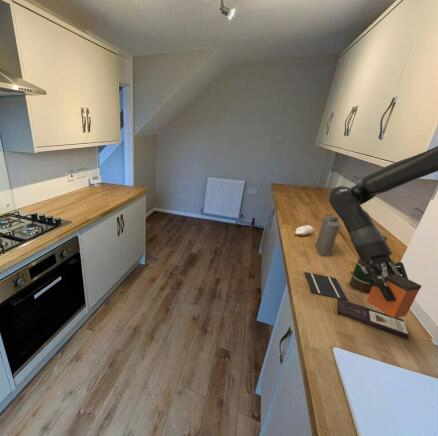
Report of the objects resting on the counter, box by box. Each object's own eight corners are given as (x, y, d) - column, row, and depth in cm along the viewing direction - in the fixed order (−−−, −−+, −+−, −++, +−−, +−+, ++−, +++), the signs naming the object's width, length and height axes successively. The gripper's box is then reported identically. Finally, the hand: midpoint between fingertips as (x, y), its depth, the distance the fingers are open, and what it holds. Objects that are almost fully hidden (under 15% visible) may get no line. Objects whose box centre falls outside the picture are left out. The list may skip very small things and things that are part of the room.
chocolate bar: (338, 298, 92) (403, 319, 82) (337, 300, 92) (402, 321, 82) (338, 311, 85) (409, 336, 75) (337, 313, 86) (407, 338, 75)
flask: (332, 257, 124) (344, 222, 117) (319, 254, 127) (330, 220, 119) (326, 245, 137) (337, 213, 130) (315, 243, 139) (324, 211, 132)
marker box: (377, 298, 75) (390, 270, 71) (406, 316, 68) (421, 285, 64) (365, 300, 74) (378, 272, 70) (393, 318, 67) (408, 287, 63)
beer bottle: (344, 283, 103) (362, 232, 95) (359, 281, 104) (378, 231, 96) (362, 294, 96) (383, 241, 88) (378, 292, 97) (400, 239, 89)
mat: (335, 278, 106) (335, 277, 106) (347, 300, 92) (348, 299, 92) (304, 272, 110) (304, 271, 110) (311, 292, 97) (311, 291, 96)
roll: (302, 230, 144) (300, 238, 146) (314, 227, 149) (312, 235, 151) (293, 226, 149) (291, 234, 151) (304, 223, 154) (302, 231, 156)
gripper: (362, 241, 70) (393, 301, 63) (399, 237, 72) (433, 295, 65) (339, 248, 76) (365, 304, 70) (374, 245, 79) (403, 298, 72)
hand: (398, 299), depth 68 cm, fingers closed on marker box, 4 cm apart
